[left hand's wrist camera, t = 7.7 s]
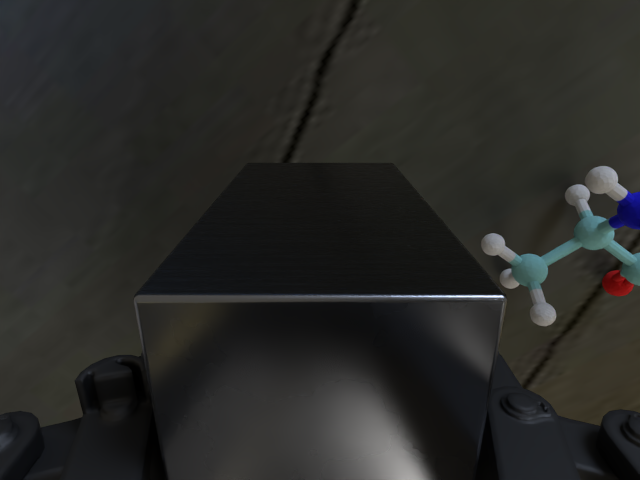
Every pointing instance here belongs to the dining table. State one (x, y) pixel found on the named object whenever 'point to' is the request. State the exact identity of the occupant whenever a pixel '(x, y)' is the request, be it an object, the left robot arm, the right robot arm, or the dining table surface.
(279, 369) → the bar
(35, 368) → the dining table surface
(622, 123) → the dining table surface
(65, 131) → the dining table surface
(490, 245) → the molecular model
